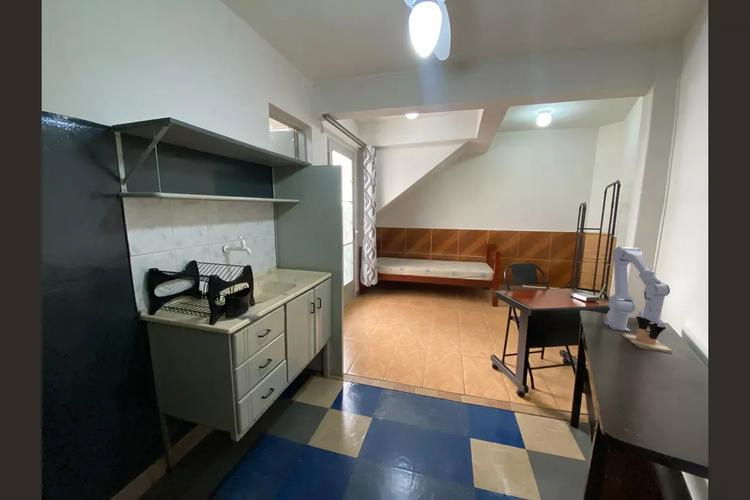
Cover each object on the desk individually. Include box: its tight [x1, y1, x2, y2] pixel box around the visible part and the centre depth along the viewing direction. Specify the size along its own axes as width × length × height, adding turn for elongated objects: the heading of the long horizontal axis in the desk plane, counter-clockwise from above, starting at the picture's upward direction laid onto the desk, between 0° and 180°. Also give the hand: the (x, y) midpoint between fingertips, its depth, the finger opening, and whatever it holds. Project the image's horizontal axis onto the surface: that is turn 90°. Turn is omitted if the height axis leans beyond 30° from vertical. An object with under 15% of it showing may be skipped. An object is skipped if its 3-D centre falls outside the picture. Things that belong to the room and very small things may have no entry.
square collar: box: [635, 328, 658, 344], centre depth 133 cm, size 5×5×5 cm
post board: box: [622, 332, 673, 354], centre depth 133 cm, size 14×12×6 cm
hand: (647, 335), depth 133 cm, fingers open, 7 cm apart
